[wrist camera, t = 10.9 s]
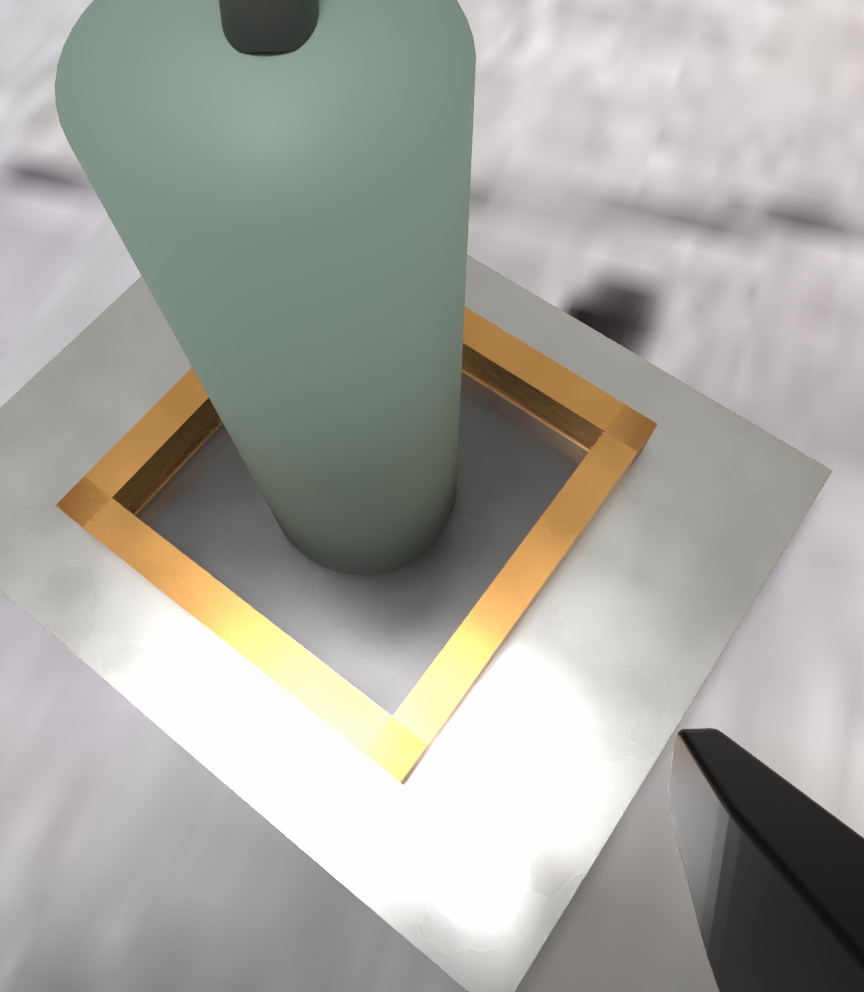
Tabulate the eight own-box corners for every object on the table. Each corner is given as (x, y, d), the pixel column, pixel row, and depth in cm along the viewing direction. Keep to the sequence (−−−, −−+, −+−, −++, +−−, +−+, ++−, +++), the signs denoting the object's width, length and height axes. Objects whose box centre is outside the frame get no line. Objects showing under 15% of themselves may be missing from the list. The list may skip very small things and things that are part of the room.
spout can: (459, 572, 21) (497, 64, 7) (266, 576, 21) (-90, 79, 7) (453, 401, 22) (473, -267, 9) (276, 405, 22) (15, -256, 9)
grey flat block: (801, 498, 24) (859, 447, 20) (492, 999, 19) (503, 1036, 16) (292, 189, 28) (273, 107, 25) (-59, 527, 24) (-139, 480, 20)
